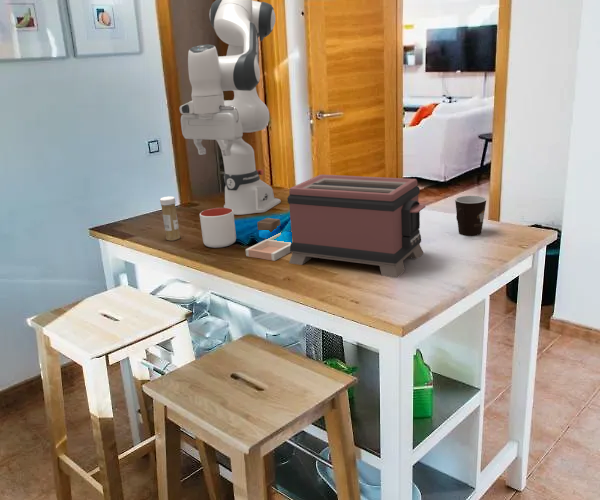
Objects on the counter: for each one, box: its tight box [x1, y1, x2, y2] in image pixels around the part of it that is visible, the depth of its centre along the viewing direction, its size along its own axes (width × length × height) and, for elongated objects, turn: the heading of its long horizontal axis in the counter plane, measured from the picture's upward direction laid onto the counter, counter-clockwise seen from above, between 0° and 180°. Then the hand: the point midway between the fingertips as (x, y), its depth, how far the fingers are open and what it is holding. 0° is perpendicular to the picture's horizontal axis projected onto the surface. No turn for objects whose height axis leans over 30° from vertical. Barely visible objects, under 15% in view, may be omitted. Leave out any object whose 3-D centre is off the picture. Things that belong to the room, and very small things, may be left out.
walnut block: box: [256, 217, 281, 232], centre depth 186 cm, size 5×5×5 cm
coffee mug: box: [454, 195, 487, 237], centre depth 173 cm, size 12×9×10 cm
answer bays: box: [245, 231, 292, 261], centre depth 174 cm, size 19×10×2 cm, turn 146°
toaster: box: [286, 174, 426, 279], centre depth 158 cm, size 19×34×21 cm, turn 60°
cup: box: [199, 207, 237, 249], centre depth 181 cm, size 10×10×10 cm
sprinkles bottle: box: [159, 196, 181, 242], centre depth 189 cm, size 5×5×13 cm
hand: (214, 155), depth 173 cm, fingers open, 8 cm apart
